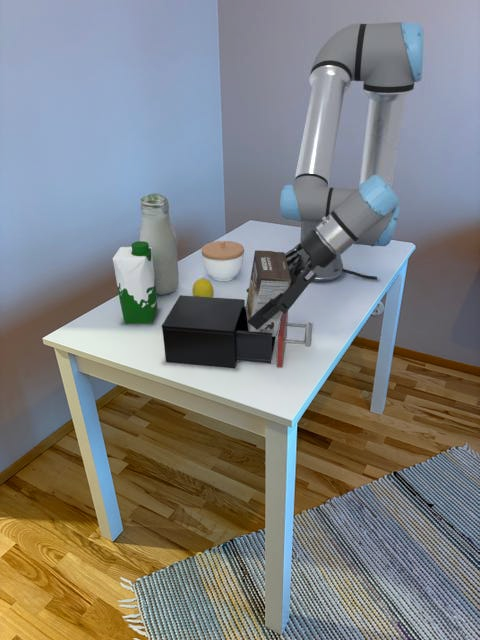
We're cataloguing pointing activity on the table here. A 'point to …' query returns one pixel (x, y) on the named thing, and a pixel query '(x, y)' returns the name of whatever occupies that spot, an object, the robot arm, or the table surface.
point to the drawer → (265, 341)
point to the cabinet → (202, 331)
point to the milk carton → (136, 282)
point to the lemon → (203, 288)
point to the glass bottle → (160, 241)
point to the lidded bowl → (222, 259)
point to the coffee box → (267, 286)
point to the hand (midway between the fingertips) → (251, 309)
